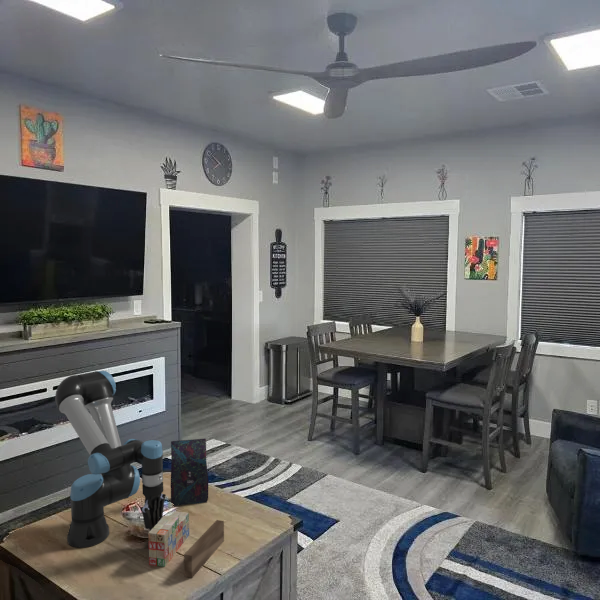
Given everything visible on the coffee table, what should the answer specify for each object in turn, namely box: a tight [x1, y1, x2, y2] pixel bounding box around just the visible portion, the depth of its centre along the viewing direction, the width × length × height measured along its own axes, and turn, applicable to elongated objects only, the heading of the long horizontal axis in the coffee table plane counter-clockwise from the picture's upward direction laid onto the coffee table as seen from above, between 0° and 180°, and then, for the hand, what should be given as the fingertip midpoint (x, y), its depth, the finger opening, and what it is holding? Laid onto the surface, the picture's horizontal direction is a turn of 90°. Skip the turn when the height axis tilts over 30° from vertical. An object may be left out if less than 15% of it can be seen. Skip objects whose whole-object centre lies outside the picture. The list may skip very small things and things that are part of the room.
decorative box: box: [170, 438, 209, 507], centre depth 228 cm, size 8×16×28 cm, turn 104°
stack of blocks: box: [147, 511, 190, 568], centre depth 191 cm, size 21×6×12 cm, turn 169°
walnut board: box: [183, 519, 225, 579], centre depth 186 cm, size 3×24×8 cm, turn 162°
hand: (154, 542), depth 192 cm, fingers closed
